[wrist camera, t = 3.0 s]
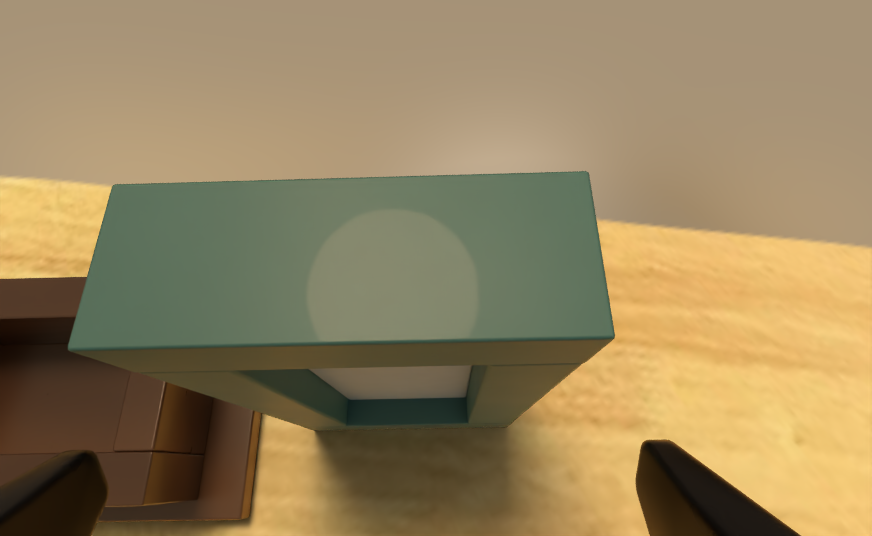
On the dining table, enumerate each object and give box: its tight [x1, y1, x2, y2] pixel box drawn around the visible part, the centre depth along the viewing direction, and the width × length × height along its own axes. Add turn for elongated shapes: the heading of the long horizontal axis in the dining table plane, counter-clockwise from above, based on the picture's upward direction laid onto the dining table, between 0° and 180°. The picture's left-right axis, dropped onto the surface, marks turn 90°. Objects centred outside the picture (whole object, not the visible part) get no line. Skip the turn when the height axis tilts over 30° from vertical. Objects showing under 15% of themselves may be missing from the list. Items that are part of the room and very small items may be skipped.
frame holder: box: [0, 277, 261, 522], centre depth 17 cm, size 8×14×4 cm, turn 91°
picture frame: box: [68, 171, 615, 431], centre depth 12 cm, size 2×7×12 cm, turn 91°
